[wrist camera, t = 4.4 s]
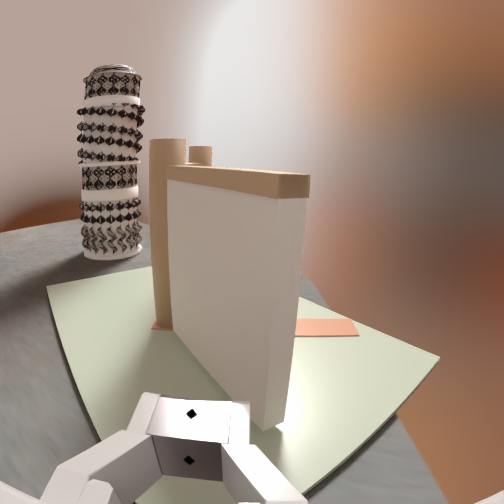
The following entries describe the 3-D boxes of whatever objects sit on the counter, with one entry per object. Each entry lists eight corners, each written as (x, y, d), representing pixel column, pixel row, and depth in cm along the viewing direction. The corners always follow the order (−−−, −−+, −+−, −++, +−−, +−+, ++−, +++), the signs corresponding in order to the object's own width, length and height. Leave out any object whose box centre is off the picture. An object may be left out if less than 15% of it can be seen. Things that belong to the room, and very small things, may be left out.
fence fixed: (191, 265, 37) (191, 147, 34) (211, 266, 37) (213, 147, 34) (153, 333, 23) (144, 139, 19) (185, 336, 23) (181, 138, 19)
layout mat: (46, 289, 28) (46, 285, 28) (208, 258, 40) (208, 254, 40) (182, 566, 7) (180, 562, 6) (438, 361, 19) (440, 356, 19)
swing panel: (171, 330, 22) (165, 165, 19) (190, 326, 22) (187, 165, 19) (261, 432, 13) (277, 173, 10) (285, 420, 14) (310, 174, 11)
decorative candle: (146, 258, 39) (149, 58, 32) (75, 263, 36) (75, 62, 29) (144, 241, 47) (146, 76, 40) (85, 244, 44) (85, 79, 37)
